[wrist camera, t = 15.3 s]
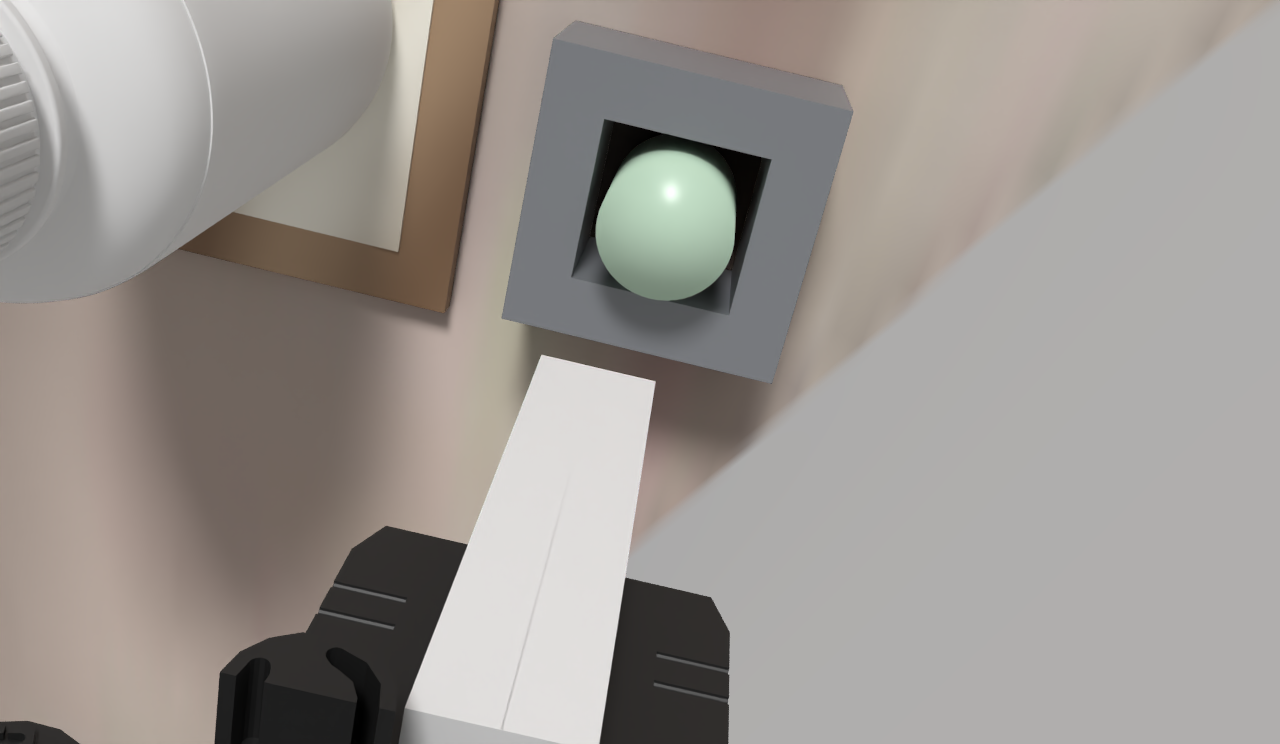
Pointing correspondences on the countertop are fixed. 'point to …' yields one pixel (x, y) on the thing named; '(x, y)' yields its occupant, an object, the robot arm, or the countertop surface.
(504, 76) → the countertop surface
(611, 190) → the button
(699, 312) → the button housing
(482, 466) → the countertop surface
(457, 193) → the clipboard
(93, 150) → the pill bottle
